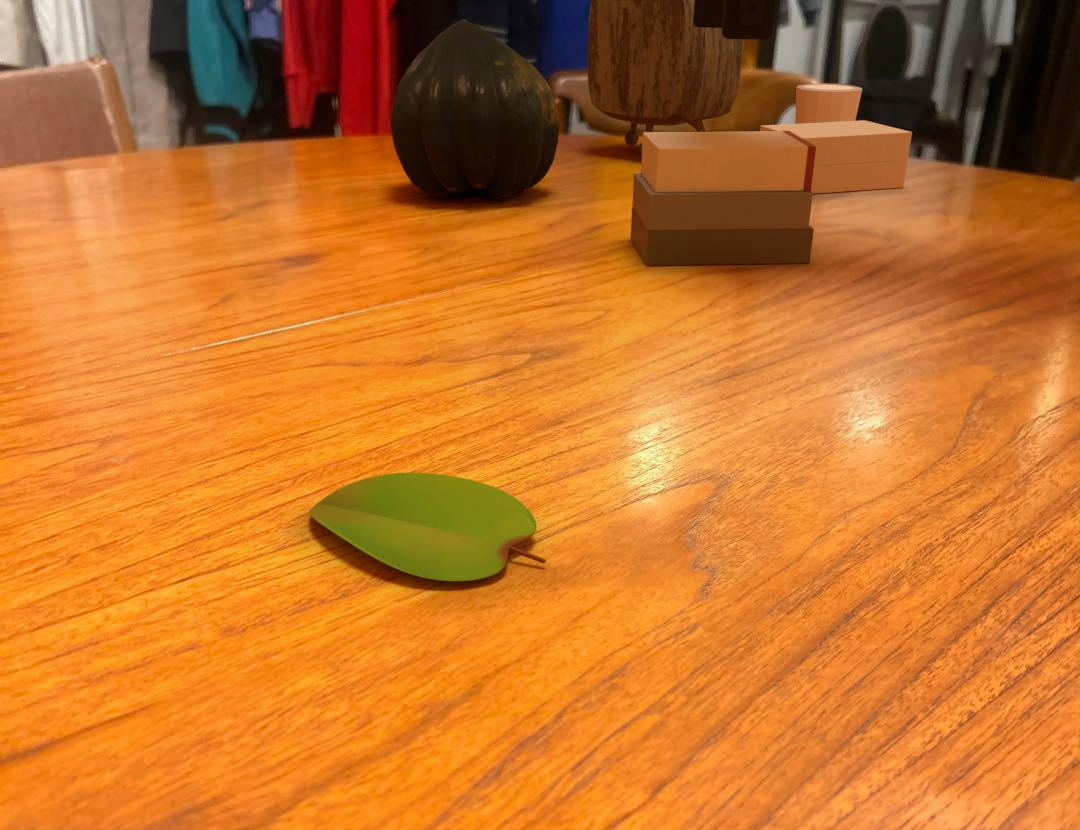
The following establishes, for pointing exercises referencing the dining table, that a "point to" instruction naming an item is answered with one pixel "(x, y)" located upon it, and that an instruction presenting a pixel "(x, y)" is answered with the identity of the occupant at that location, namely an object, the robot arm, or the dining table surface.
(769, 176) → the tan box
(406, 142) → the squash
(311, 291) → the dining table surface
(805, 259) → the brown box
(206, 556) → the dining table surface
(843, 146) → the orange lidded box
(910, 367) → the dining table surface
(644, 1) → the tabletop clock
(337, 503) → the decorative leaf
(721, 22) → the robot arm
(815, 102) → the tapered cup
